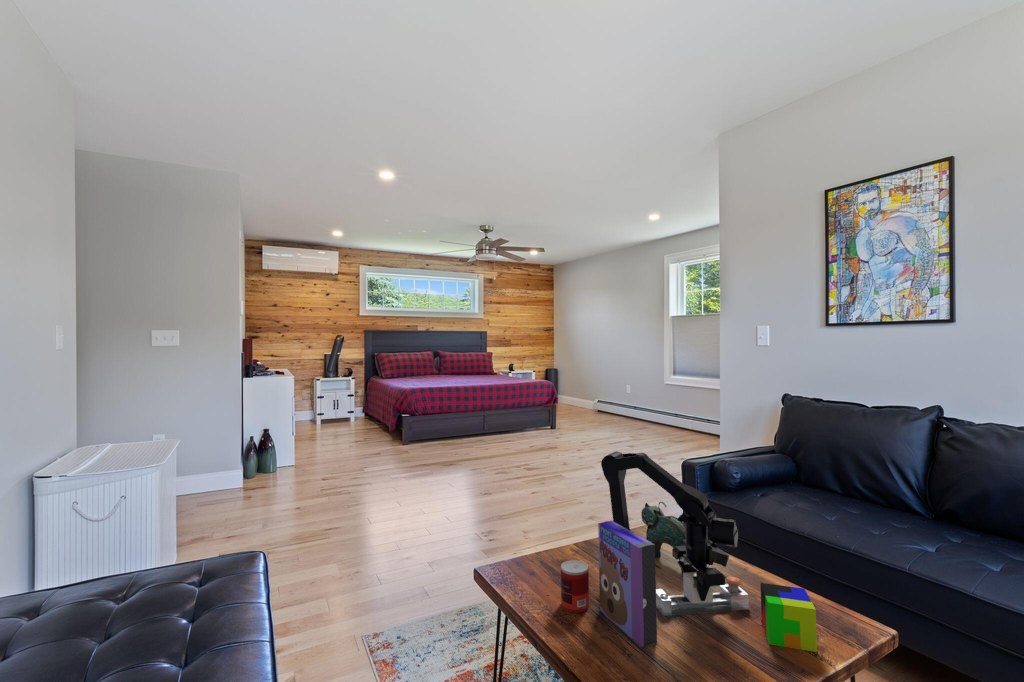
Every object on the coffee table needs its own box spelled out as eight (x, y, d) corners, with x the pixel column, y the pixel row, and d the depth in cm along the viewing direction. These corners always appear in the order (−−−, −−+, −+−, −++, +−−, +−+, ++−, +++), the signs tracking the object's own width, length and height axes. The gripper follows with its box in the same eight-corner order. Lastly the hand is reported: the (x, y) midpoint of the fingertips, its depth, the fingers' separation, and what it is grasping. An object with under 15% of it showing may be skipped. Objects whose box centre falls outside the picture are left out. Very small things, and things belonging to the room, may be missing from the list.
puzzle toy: (805, 628, 118) (804, 588, 118) (817, 652, 109) (815, 609, 109) (761, 621, 121) (760, 582, 122) (769, 644, 112) (767, 602, 112)
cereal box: (599, 610, 127) (598, 522, 128) (614, 606, 129) (612, 520, 130) (641, 648, 111) (639, 547, 112) (657, 642, 113) (654, 543, 114)
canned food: (592, 601, 132) (591, 562, 132) (584, 616, 125) (583, 575, 125) (566, 595, 135) (565, 557, 136) (557, 609, 128) (556, 569, 128)
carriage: (692, 604, 125) (692, 581, 126) (683, 594, 131) (683, 572, 131) (713, 602, 126) (713, 580, 126) (703, 592, 131) (703, 571, 131)
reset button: (731, 600, 128) (730, 583, 128) (724, 593, 131) (723, 576, 131) (743, 599, 128) (743, 582, 128) (736, 593, 132) (735, 576, 132)
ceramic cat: (640, 554, 162) (639, 496, 162) (654, 550, 165) (653, 493, 165) (686, 578, 144) (684, 513, 145) (700, 573, 147) (699, 510, 148)
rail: (663, 615, 124) (662, 599, 124) (654, 603, 130) (653, 588, 130) (748, 609, 127) (748, 593, 127) (736, 597, 133) (735, 582, 133)
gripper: (743, 551, 120) (745, 612, 120) (706, 524, 139) (707, 577, 139) (703, 554, 119) (704, 615, 119) (670, 526, 138) (672, 580, 137)
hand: (697, 595), depth 128 cm, fingers closed on carriage, 5 cm apart
